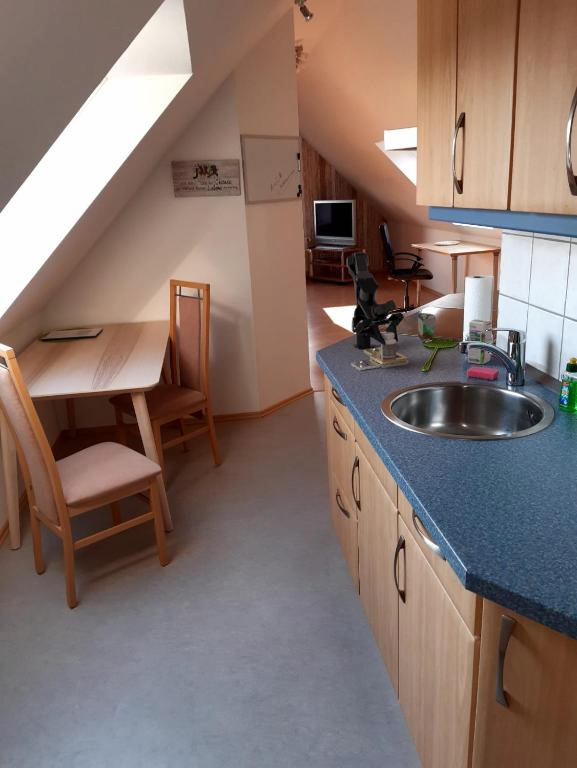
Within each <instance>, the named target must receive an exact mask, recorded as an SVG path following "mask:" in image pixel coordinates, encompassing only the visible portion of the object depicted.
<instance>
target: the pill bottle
mask: <svg viewBox="0 0 577 768" xmlns="http://www.w3.org/2000/svg"><path fill="white" fill-rule="evenodd" d="M382 336H383V338H384V340H385V342H386V344H385V345H383V344H381V343H380V347H381V359H383V360H389V359H395V358H396V352H397V342H396V340H395V339H394V333H392V332H387V331H386V332H383V333H382Z"/></svg>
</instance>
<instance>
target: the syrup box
mask: <svg viewBox="0 0 577 768" xmlns="http://www.w3.org/2000/svg"><path fill="white" fill-rule="evenodd" d="M492 322H493V321H492V320H487V319H478V318H477V319H472V320H470V321H469V323H468V341H469V340H471V341H481V342H485V343H492V330H491V331H485V329H488V328H491V329H492V325H493V324H492ZM467 353H468V356H467V363H469V364H470V363H471V364H476V365H484V364H486V363H488V362H490V361H491V353H490V354H489V353H488V352H486V351H484V350H481V349H475V348H474V349H469V348H468V352H467Z"/></svg>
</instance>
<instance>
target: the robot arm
mask: <svg viewBox="0 0 577 768" xmlns="http://www.w3.org/2000/svg"><path fill="white" fill-rule="evenodd" d="M369 263H370V262H369V255H368V254H367V253H366V252H364V251H360V252H353V253H352V254H351V255H348V256H347V257H346V268H348V274H349V275H350V276H351V277H352V279H353V285H354V297H355V309H354V311H353V317H352V318H351V331H352V333H353V334H355V343H353V344H352V346H353V345H354V346H353V347H355V348H357V349H358V348H359V349H358V350H362V348H363V349H370V348H375V345H374V344H372V343H371V342H372V341H371V338H372V339H374V340H375V341H377V342H378V343H380V345H381V344H383V345H385V344H386V342H385V340H384V338H383V333H382V332H381V331H380V329H379V328H380V326H384V325H385V327H386V328H385V331H386V332H392V333H394V339H395V340H396V343H397V342H398V341H399V338H398V331H397V327H398V326H399V325H400V324H401V322H402V321H403V320H404V318H405V316H404V314H403V312H401V311H398V312H394V310H395V309H396V308H397V305H396V302H395V301H394V300H393V299H391V300H388V301H386V302H385V303H379V304H378V302H377V300H376V298H377V297H376V296H377V291H378V289H379V284H378V282H377V280H376V279H375V278H374V275H373V274H372V273H371V272H369V269H368V267H369V265H370V264H369ZM391 312H394V313H392V314H390V316H389V313H391ZM388 316H389V317H388ZM387 317H388V318H387Z"/></svg>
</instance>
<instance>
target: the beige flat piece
mask: <svg viewBox="0 0 577 768" xmlns="http://www.w3.org/2000/svg"><path fill="white" fill-rule="evenodd" d="M363 353H364V356H365V355H366V356H365V357H367V356H368V357H367V358H369V357H370V358H369V359H367V360H363V359H362V360H360V361H356V362H354V361H353V362H351V363H350V365H351V367H353V368H354V367H355V368H354V369H356V370H357V371H367V370H373V369H377V368H378V369H379V368H382V369H387V368H392V367H393V368H394V367H399V366H404V365H409V357H407V356H405V355H404V354H401V353H399V352H397V351H396V358H395V359H389V360H383V359H381V346H380V347H370V348H364V349H363ZM366 369H367V370H366Z"/></svg>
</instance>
